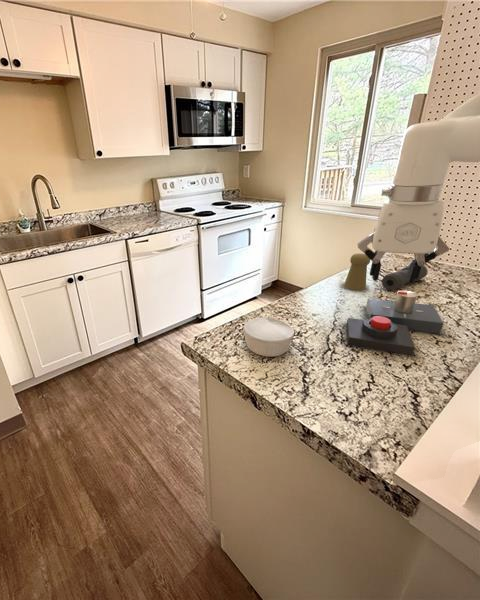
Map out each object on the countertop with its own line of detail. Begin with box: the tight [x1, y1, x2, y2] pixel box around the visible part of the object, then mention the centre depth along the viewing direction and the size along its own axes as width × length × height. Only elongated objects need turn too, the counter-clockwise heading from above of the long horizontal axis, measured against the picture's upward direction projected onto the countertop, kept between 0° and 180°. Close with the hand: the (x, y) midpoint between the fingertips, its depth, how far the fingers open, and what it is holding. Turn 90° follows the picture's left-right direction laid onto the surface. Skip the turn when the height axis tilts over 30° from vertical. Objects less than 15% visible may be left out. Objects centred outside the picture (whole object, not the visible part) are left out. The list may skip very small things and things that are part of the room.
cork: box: [343, 253, 371, 292], centre depth 98 cm, size 6×6×11 cm
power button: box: [370, 316, 391, 329], centre depth 72 cm, size 4×4×2 cm
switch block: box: [345, 317, 416, 356], centre depth 73 cm, size 12×10×4 cm
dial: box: [393, 290, 418, 313], centre depth 78 cm, size 4×4×5 cm
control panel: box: [365, 298, 444, 335], centre depth 80 cm, size 14×10×3 cm
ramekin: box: [242, 316, 295, 358], centre depth 75 cm, size 11×11×5 cm
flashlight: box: [381, 264, 429, 291], centre depth 98 cm, size 15×5×5 cm, turn 116°
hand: (391, 279), depth 68 cm, fingers open, 5 cm apart
